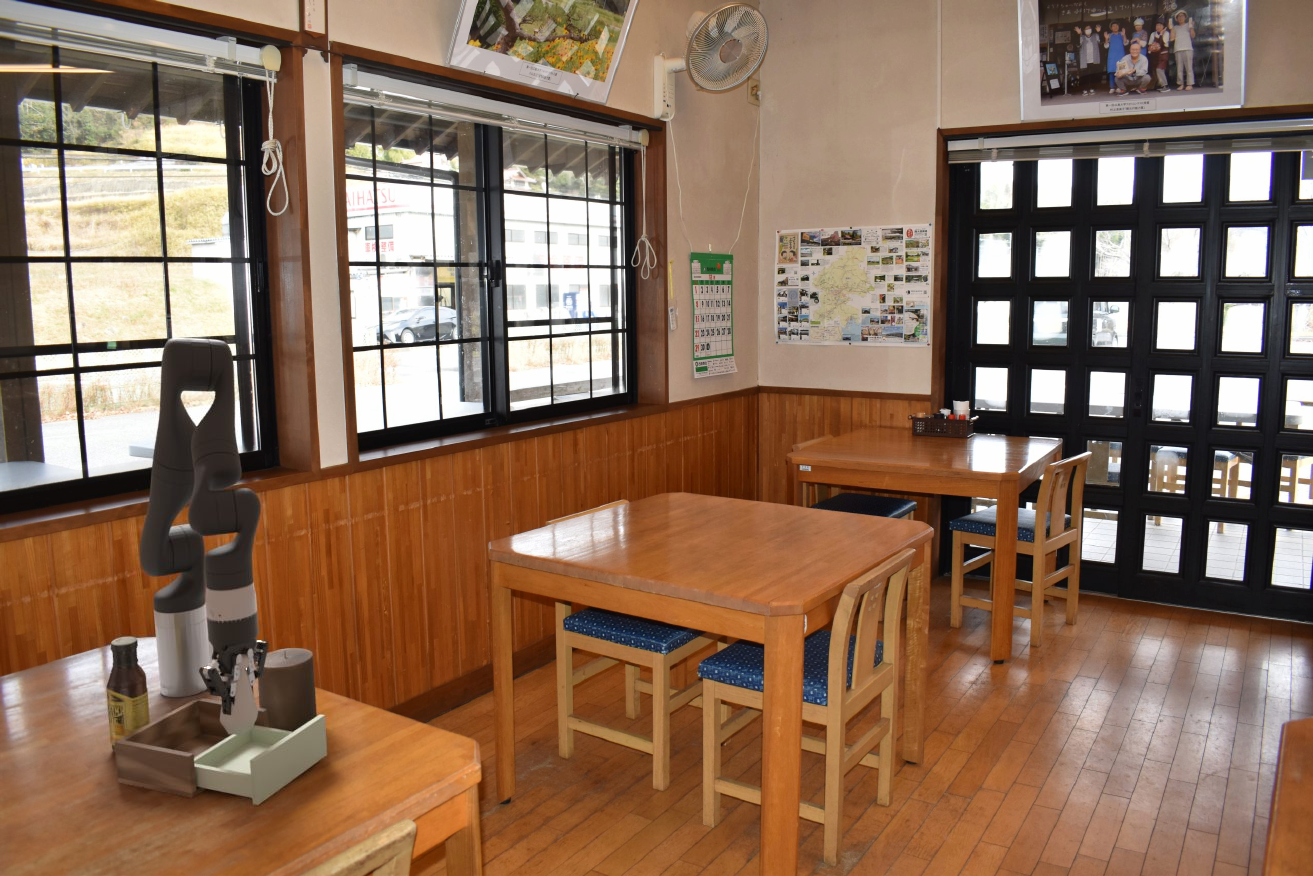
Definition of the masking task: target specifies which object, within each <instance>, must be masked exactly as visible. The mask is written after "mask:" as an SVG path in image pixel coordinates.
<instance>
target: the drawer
mask: <svg viewBox="0 0 1313 876" xmlns="http://www.w3.org/2000/svg"><path fill="white" fill-rule="evenodd" d="M326 728H327V726H326V715H325V714H320V713H319V714H317V717H315V718H314V719H312V720H311V721H309V722H308V723H306V724H305V725H303V726H301V727H300V728H298V729H297V730H295V731H294V732H291V731H285V730H280V729H274V728H268V727H263V726H257V725H254V726H253V728H252V729H251V731H249V732H246V733H243V734H240V735H234V734H233V735H231V736H229V737H228V738H226V739H224V740H223V741H221V742H219V743H218V744H216V745H214V746H213V747H211V748H210V749H208V750H206V751H205V752H203V753H201V754H200V755H198V756H196V757H195V758H194V764H195V777H196V786H197V787H202V788H206V789H208V790H213V791H216V792H217V791H218V792H221V793H228V794H232V795H235V796H242V797H245V798H246V797H247V798H251V799H252V805H256V806H257V805H258V806H259V805H260V804H262V803H263V802H264V801H266V800H267V799H268V798H270V797H271V796H273V794H275V793H277V792H278V791H279V790H281V789H282V788H283V787H284V786H286V785H288V784H289V783H290V782H292V781H293V780H295V779H296V778H297V777H298V776H300V775H302V773H304V772H305V771H307V770H308V769H310V768H311V767H312V766H314V765H315V764H316V763H318V762H319V761H321V760H322V759H323V758H325V757H326V756H328V746H327V730H326Z"/></svg>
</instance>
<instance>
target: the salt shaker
mask: <svg viewBox="0 0 1313 876" xmlns="http://www.w3.org/2000/svg"><path fill="white" fill-rule="evenodd" d="M248 666H249V659H248V657H247V656H246V655H245V654H242V662H241V663H240V664H239V665H238V667H239V670H240V675H239V680H238V681H237V683H236V694H235V695H234V696H235V703H234V705H233V703H232V706H231V716H230V715H225V714H223V712H222V707H221V714H220V722H221V724H222V725H223V726H224V728H225V729H226V730H227V732H228V734H234V735H240V734H243V733H246V732H249V731H251V729H252V728H253V726H254V723H255V721H256V719H257V715H258V709H257V708H258V707H257V703H256V698H255V694H254V693H253V692H254V690H253V691H252V688H251V684H250V680H249V677H248V673H247V669H246V668H247V667H248ZM225 674H226V673H225ZM226 675H227V676H232V674H226ZM226 688H229V683H228V682H226ZM253 694H254V695H253ZM226 710H227V709H226Z"/></svg>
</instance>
